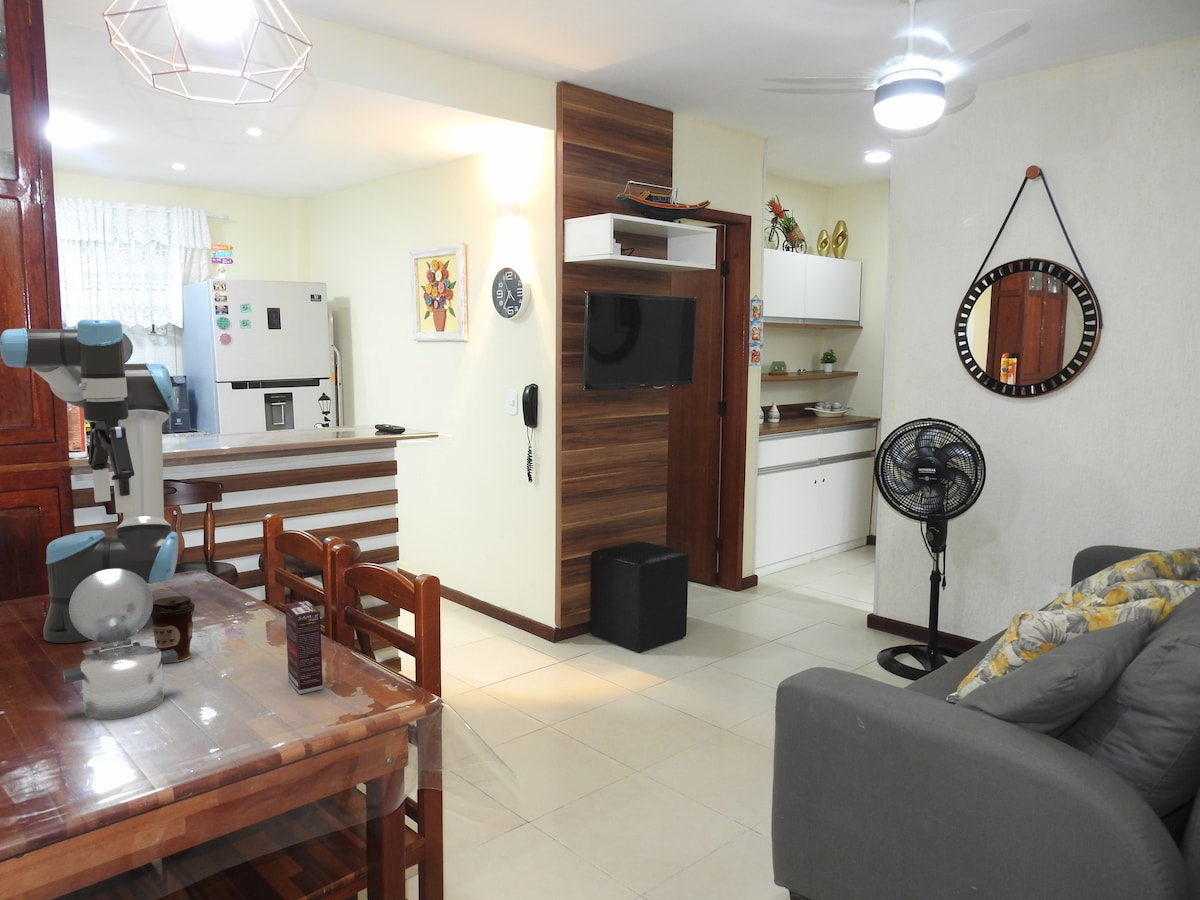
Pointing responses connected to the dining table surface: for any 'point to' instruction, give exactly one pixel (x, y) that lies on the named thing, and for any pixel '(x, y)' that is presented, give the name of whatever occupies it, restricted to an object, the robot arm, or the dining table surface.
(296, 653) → the supplement box
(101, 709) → the pot
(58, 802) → the dining table surface
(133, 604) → the lid
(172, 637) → the coffee cup
